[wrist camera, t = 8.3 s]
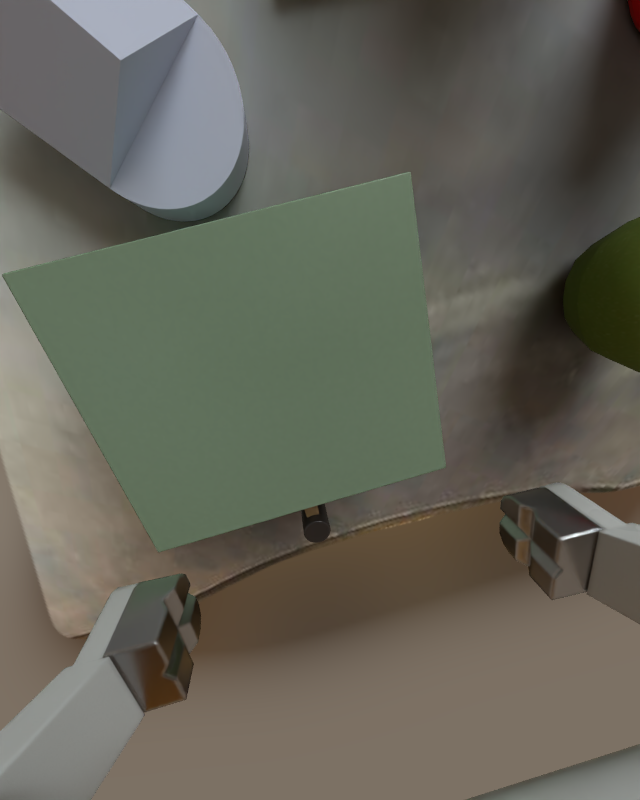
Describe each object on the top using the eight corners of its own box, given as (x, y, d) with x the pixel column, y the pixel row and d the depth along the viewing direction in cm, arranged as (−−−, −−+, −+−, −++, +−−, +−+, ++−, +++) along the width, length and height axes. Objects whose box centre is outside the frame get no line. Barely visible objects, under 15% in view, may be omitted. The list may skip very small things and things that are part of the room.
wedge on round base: (-15, 94, 17) (201, 252, 21) (-182, -18, 11) (170, 236, 15) (55, -84, 16) (277, 123, 19) (-93, -337, 9) (278, 44, 13)
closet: (122, 280, 21) (0, 273, 12) (352, 221, 22) (411, 170, 12) (200, 458, 26) (158, 553, 17) (386, 405, 27) (446, 467, 17)
